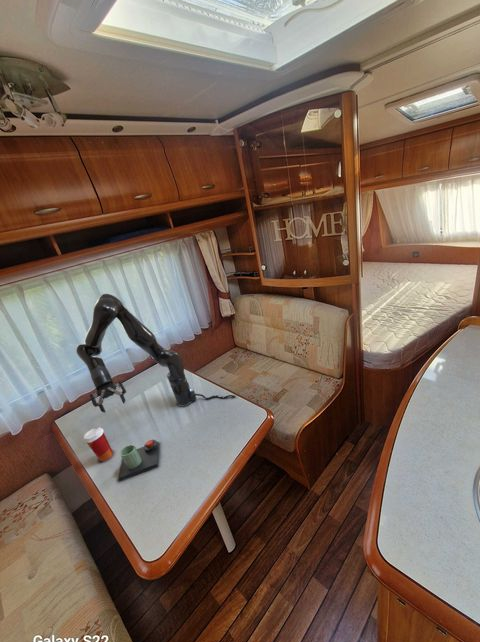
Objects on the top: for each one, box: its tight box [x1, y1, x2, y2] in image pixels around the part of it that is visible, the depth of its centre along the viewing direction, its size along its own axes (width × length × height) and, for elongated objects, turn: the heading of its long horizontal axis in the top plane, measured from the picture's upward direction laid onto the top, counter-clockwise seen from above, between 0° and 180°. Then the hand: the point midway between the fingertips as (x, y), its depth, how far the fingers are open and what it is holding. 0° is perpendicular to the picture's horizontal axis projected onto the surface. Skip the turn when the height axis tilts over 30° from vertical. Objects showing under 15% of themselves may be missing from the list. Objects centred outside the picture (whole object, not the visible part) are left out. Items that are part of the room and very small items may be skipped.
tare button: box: [145, 439, 154, 448], centre depth 126 cm, size 3×3×2 cm
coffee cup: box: [83, 426, 114, 462], centre depth 126 cm, size 8×8×15 cm
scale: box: [117, 439, 160, 482], centre depth 122 cm, size 16×14×4 cm
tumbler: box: [119, 443, 142, 469], centre depth 118 cm, size 6×6×8 cm
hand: (114, 407), depth 125 cm, fingers open, 8 cm apart
